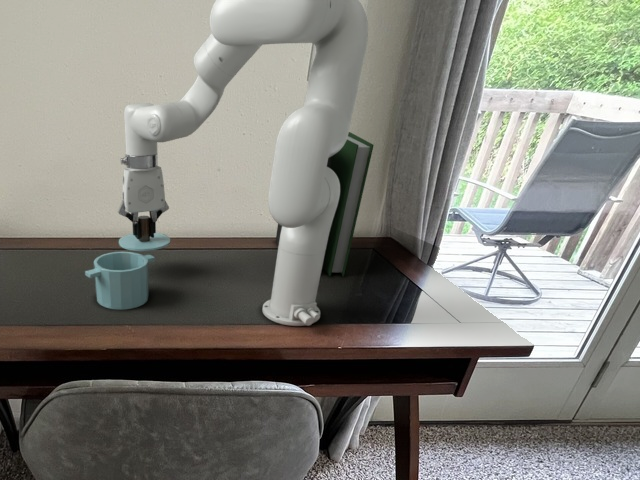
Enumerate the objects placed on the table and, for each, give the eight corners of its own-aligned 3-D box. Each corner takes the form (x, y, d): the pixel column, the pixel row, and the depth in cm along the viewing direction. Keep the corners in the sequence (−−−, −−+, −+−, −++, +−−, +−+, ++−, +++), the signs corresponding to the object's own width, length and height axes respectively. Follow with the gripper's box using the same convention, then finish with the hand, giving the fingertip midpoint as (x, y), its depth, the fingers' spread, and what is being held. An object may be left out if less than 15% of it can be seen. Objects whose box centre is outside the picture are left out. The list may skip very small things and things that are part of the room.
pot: (167, 297, 116) (167, 260, 111) (103, 317, 107) (101, 278, 102) (138, 280, 125) (137, 245, 120) (77, 298, 116) (74, 261, 111)
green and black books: (346, 276, 125) (377, 144, 107) (289, 275, 126) (310, 145, 108) (321, 241, 148) (343, 128, 130) (273, 241, 149) (288, 129, 131)
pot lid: (180, 245, 123) (181, 217, 119) (137, 257, 117) (136, 228, 113) (150, 233, 133) (150, 207, 129) (109, 243, 126) (107, 216, 123)
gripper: (111, 167, 109) (116, 245, 119) (179, 161, 112) (178, 237, 122) (105, 162, 115) (110, 236, 125) (169, 156, 118) (170, 229, 128)
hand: (144, 236), depth 124 cm, fingers closed on pot lid, 3 cm apart
